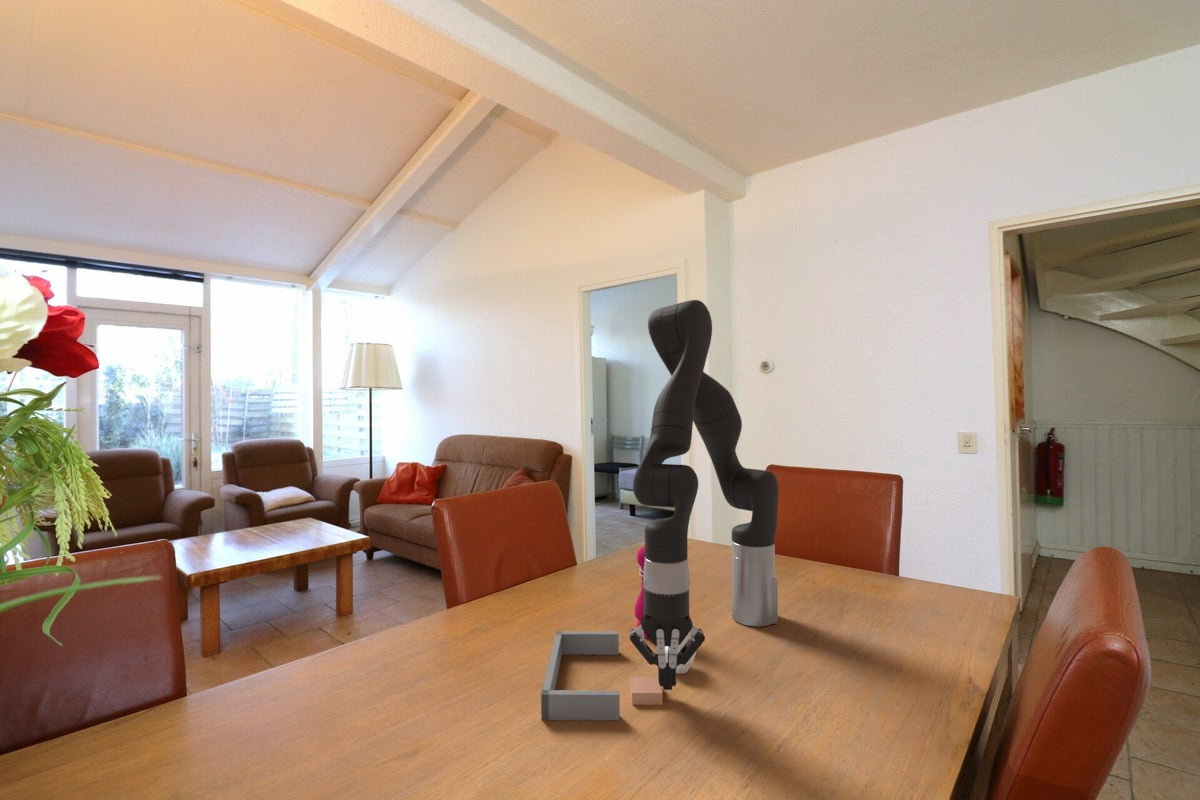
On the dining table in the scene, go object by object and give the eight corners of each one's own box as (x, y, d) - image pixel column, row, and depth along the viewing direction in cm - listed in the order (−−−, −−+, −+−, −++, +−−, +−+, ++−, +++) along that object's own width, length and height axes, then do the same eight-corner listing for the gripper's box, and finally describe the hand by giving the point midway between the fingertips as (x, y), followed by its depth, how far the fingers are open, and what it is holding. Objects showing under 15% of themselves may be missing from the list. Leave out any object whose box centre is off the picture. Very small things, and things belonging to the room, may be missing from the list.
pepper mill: (667, 641, 113) (666, 543, 113) (632, 638, 115) (631, 541, 114) (670, 626, 120) (669, 534, 120) (636, 623, 122) (636, 532, 121)
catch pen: (618, 651, 109) (618, 631, 109) (619, 720, 87) (619, 694, 86) (556, 651, 109) (556, 631, 109) (541, 719, 87) (541, 694, 87)
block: (659, 691, 96) (659, 676, 96) (662, 707, 91) (662, 692, 91) (630, 691, 96) (630, 676, 96) (632, 708, 91) (631, 692, 91)
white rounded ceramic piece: (666, 659, 106) (666, 622, 106) (698, 664, 104) (698, 627, 104) (658, 675, 100) (658, 636, 100) (692, 680, 98) (692, 641, 98)
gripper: (702, 576, 96) (703, 675, 96) (625, 576, 96) (626, 675, 97) (710, 592, 89) (710, 700, 89) (627, 592, 89) (627, 700, 89)
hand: (666, 687), depth 93 cm, fingers closed
